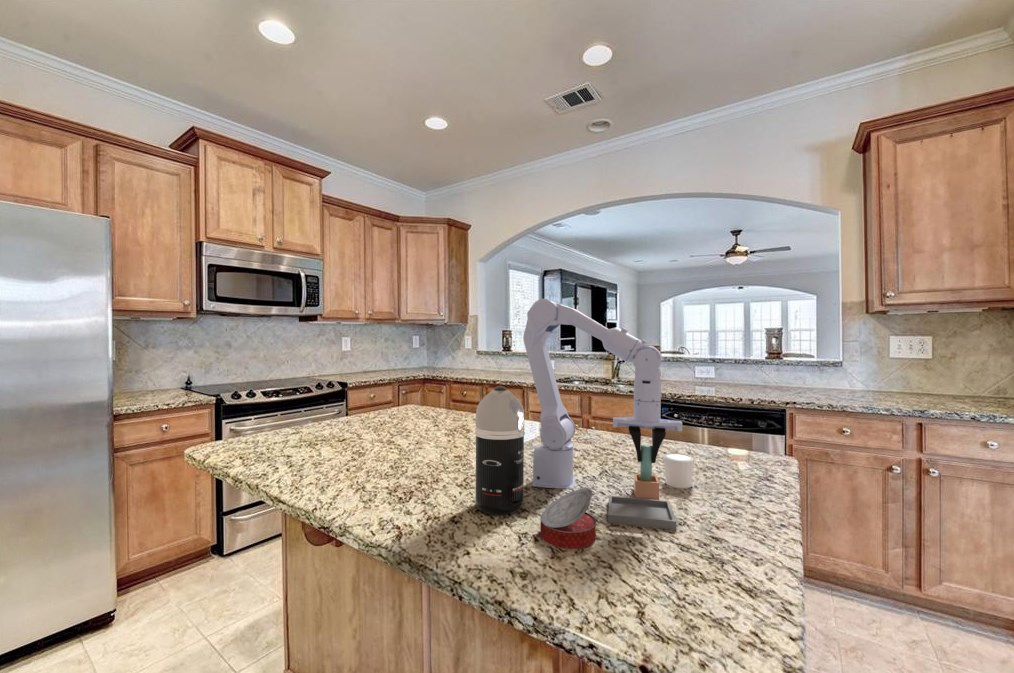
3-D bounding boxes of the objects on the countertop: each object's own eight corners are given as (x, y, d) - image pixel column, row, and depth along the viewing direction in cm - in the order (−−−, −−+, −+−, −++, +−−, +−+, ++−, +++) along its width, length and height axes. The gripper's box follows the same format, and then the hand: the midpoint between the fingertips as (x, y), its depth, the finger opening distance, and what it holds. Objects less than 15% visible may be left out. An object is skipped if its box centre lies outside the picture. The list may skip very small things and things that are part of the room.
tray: (608, 525, 81) (608, 514, 81) (608, 504, 91) (608, 495, 91) (676, 532, 78) (676, 521, 78) (669, 510, 88) (669, 501, 88)
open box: (634, 499, 94) (635, 481, 94) (633, 491, 99) (634, 473, 99) (659, 501, 93) (659, 483, 93) (656, 493, 97) (657, 475, 97)
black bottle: (530, 501, 92) (531, 384, 92) (515, 520, 83) (516, 390, 83) (485, 495, 96) (486, 382, 96) (466, 513, 86) (467, 387, 86)
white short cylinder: (697, 492, 98) (697, 461, 98) (665, 489, 100) (665, 459, 100) (690, 482, 105) (691, 453, 105) (661, 480, 107) (661, 451, 107)
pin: (640, 481, 95) (641, 447, 95) (640, 477, 97) (640, 444, 97) (652, 482, 94) (652, 447, 94) (651, 478, 97) (651, 445, 96)
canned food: (585, 576, 72) (580, 536, 68) (532, 553, 78) (524, 515, 73) (608, 523, 80) (605, 485, 76) (559, 506, 86) (554, 469, 81)
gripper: (613, 401, 93) (612, 463, 93) (685, 404, 90) (684, 469, 90) (613, 396, 100) (612, 454, 100) (679, 399, 97) (679, 459, 97)
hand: (646, 461), depth 96 cm, fingers closed on pin, 2 cm apart
